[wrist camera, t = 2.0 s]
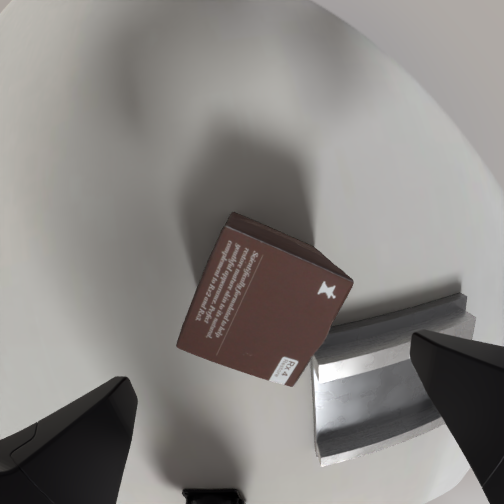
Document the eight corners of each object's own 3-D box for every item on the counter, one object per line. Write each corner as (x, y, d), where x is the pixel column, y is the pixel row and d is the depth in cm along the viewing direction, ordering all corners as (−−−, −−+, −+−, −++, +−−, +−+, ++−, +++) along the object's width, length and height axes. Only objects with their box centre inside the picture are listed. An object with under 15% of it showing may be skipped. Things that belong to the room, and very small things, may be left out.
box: (232, 208, 18) (224, 219, 11) (317, 247, 19) (359, 280, 12) (196, 293, 19) (171, 348, 12) (277, 326, 20) (293, 391, 13)
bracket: (315, 449, 23) (320, 472, 20) (308, 331, 20) (317, 353, 17) (437, 410, 23) (449, 426, 20) (460, 292, 20) (481, 304, 17)
